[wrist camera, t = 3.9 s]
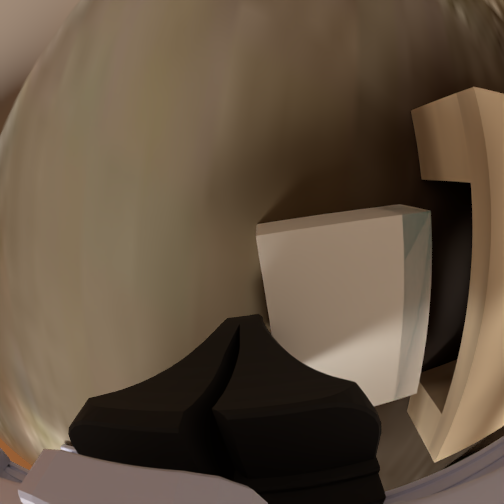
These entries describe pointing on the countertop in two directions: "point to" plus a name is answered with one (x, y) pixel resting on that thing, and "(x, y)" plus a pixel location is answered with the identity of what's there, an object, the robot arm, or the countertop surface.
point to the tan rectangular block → (482, 271)
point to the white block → (352, 294)
